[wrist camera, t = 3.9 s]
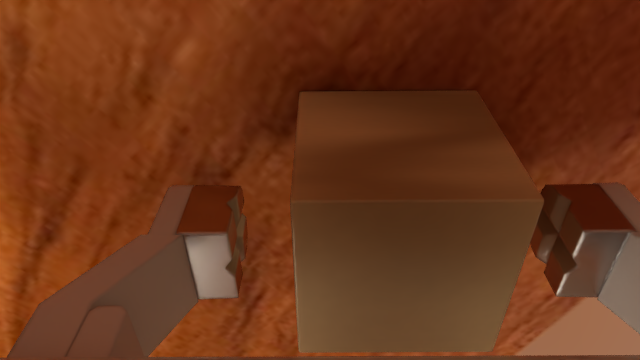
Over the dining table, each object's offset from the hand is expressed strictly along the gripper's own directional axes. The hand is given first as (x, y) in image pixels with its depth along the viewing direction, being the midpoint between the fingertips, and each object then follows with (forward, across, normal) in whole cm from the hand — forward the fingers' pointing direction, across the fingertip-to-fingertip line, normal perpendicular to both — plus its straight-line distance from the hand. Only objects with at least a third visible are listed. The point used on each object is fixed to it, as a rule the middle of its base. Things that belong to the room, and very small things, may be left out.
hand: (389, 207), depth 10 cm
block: (+2, 0, 0) cm, 2 cm away
